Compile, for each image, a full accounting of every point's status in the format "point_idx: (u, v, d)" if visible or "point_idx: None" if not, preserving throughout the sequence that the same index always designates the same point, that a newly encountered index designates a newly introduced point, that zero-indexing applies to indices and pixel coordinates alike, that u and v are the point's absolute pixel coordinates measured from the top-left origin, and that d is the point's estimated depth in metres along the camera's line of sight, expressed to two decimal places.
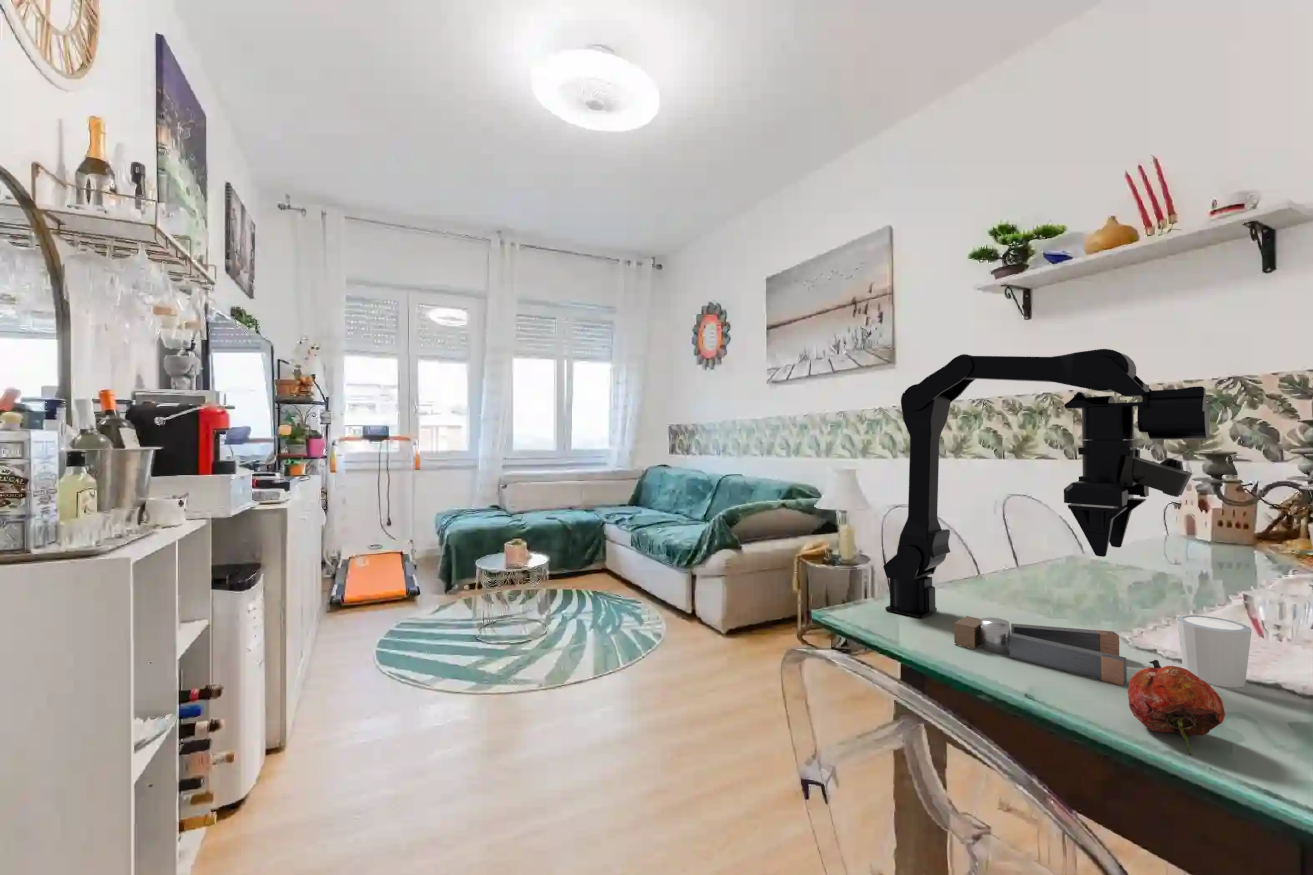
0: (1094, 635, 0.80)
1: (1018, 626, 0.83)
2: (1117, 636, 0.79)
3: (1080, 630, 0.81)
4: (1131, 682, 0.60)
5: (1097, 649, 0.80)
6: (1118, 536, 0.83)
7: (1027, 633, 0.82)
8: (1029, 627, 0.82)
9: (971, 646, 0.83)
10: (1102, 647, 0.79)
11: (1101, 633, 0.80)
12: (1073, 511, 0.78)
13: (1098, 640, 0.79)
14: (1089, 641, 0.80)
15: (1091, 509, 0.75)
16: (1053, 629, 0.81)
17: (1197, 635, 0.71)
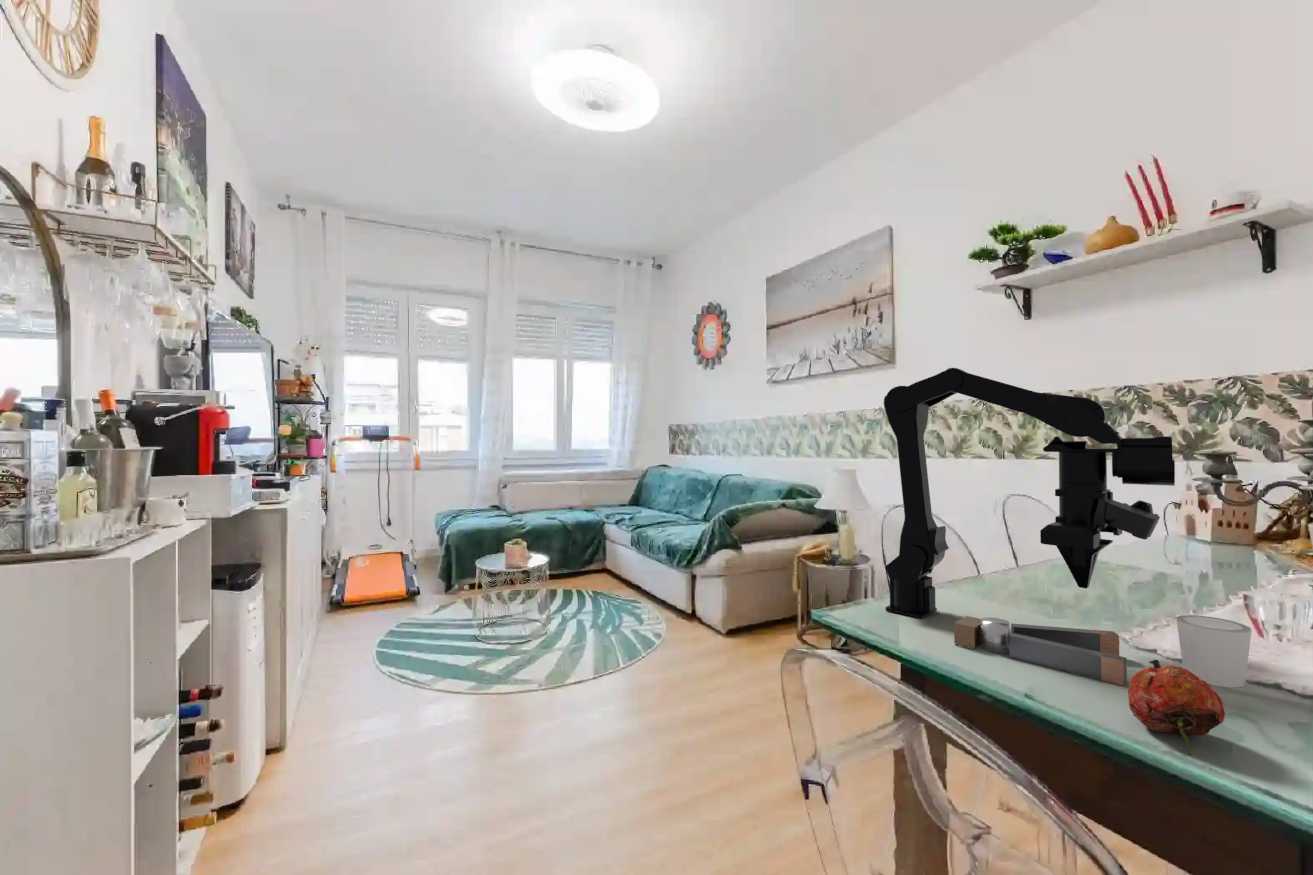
0: (1094, 635, 0.80)
1: (1018, 626, 0.83)
2: (1117, 636, 0.79)
3: (1080, 630, 0.81)
4: (1131, 682, 0.60)
5: (1097, 649, 0.80)
6: None
7: (1027, 633, 0.82)
8: (1029, 627, 0.82)
9: (971, 646, 0.83)
10: (1102, 647, 0.79)
11: (1101, 633, 0.80)
12: (1058, 546, 0.86)
13: (1098, 640, 0.79)
14: (1089, 641, 0.80)
15: None
16: (1053, 629, 0.81)
17: (1197, 635, 0.71)
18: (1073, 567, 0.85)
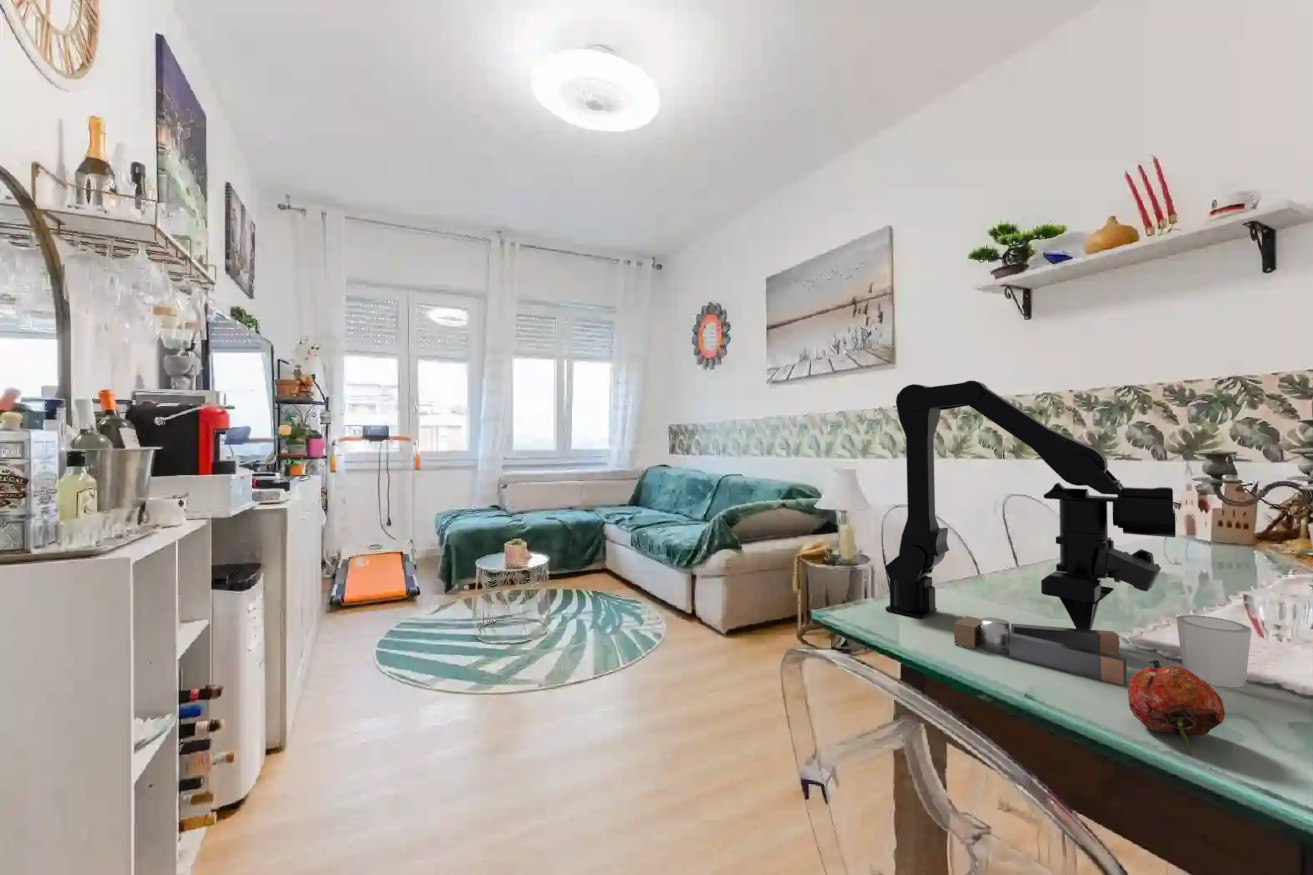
0: (1094, 635, 0.80)
1: (1018, 626, 0.83)
2: (1117, 636, 0.79)
3: (1080, 630, 0.81)
4: (1131, 682, 0.60)
5: (1097, 649, 0.80)
6: None
7: (1027, 633, 0.82)
8: (1029, 627, 0.82)
9: (971, 646, 0.83)
10: (1102, 647, 0.79)
11: (1101, 633, 0.80)
12: None
13: (1098, 640, 0.79)
14: (1089, 641, 0.80)
15: None
16: (1053, 629, 0.81)
17: (1197, 635, 0.71)
18: (1074, 615, 0.85)
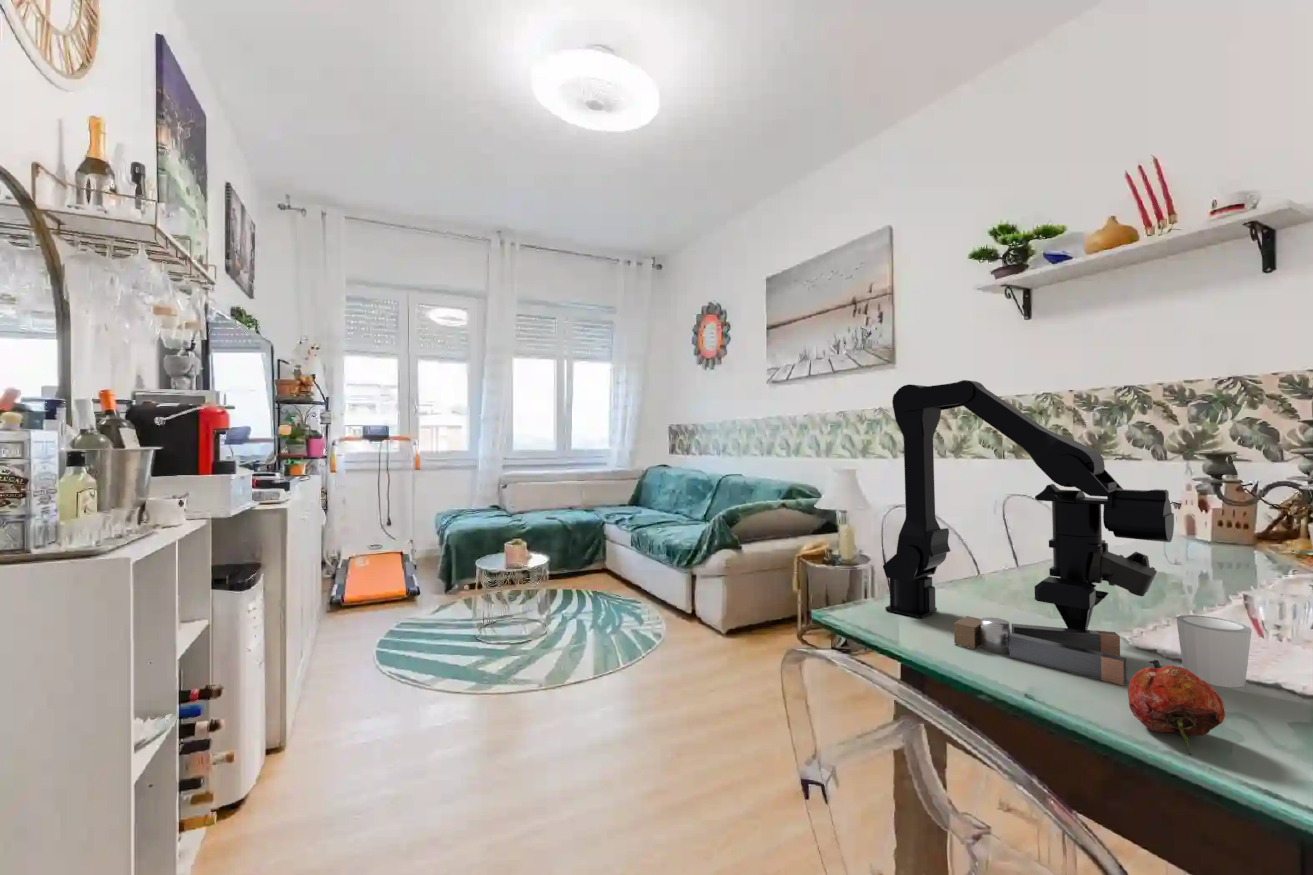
0: (1095, 635, 0.79)
1: (1018, 626, 0.83)
2: (1118, 637, 0.79)
3: (1081, 630, 0.81)
4: (1131, 682, 0.60)
5: (1098, 650, 0.79)
6: None
7: (1027, 633, 0.82)
8: (1029, 627, 0.82)
9: (971, 646, 0.83)
10: (1103, 647, 0.79)
11: (1102, 633, 0.79)
12: None
13: (1099, 641, 0.79)
14: (1090, 641, 0.80)
15: None
16: (1053, 629, 0.81)
17: (1197, 635, 0.71)
18: (1069, 620, 0.83)
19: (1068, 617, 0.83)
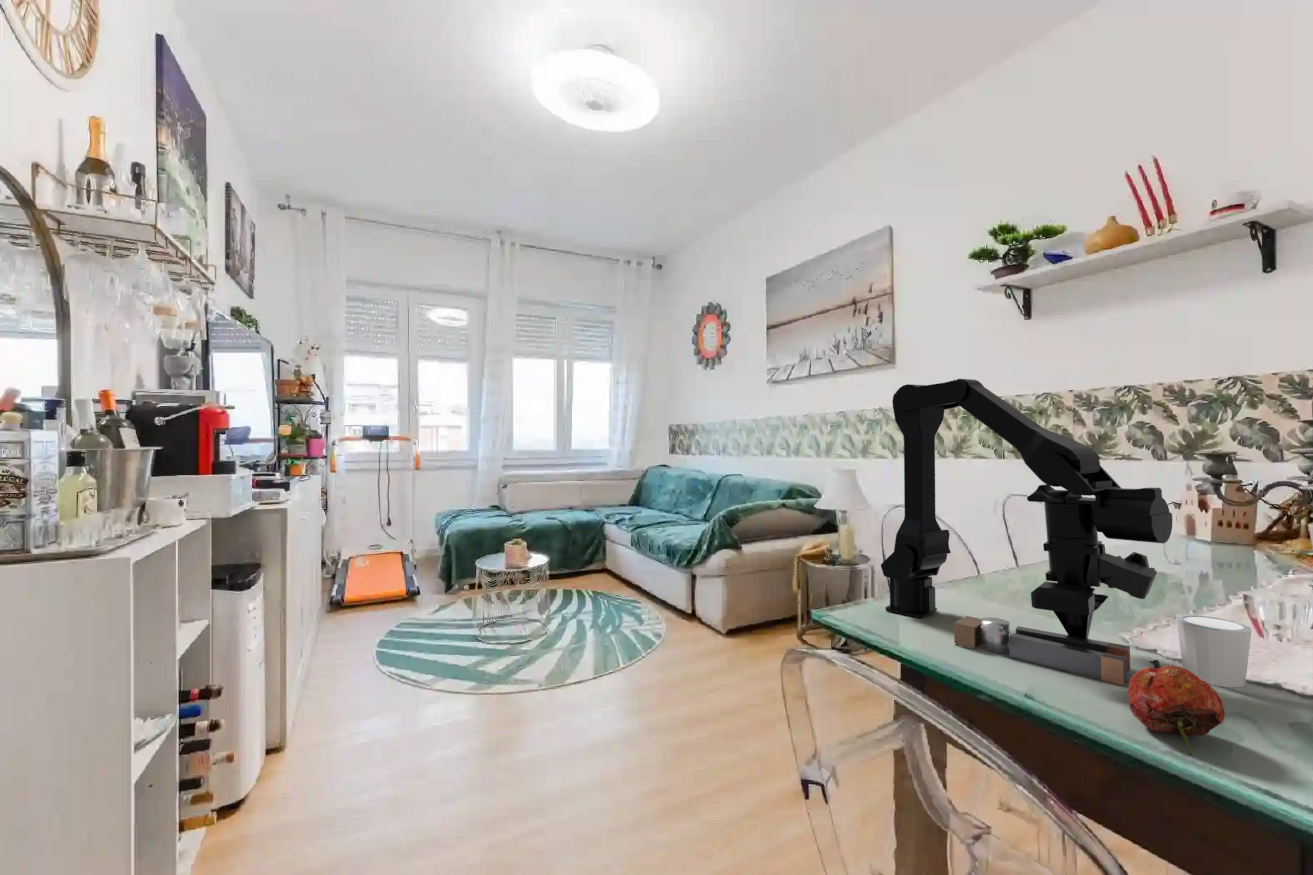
0: (1102, 646, 0.75)
1: (1021, 629, 0.82)
2: (1127, 651, 0.74)
3: (1089, 640, 0.77)
4: (1131, 682, 0.60)
5: None
6: (1082, 637, 0.79)
7: None
8: (1032, 631, 0.81)
9: (971, 646, 0.83)
10: None
11: (1110, 645, 0.75)
12: None
13: (1105, 652, 0.75)
14: None
15: None
16: (1057, 636, 0.79)
17: (1197, 635, 0.71)
18: (1069, 627, 0.79)
19: (1068, 623, 0.79)
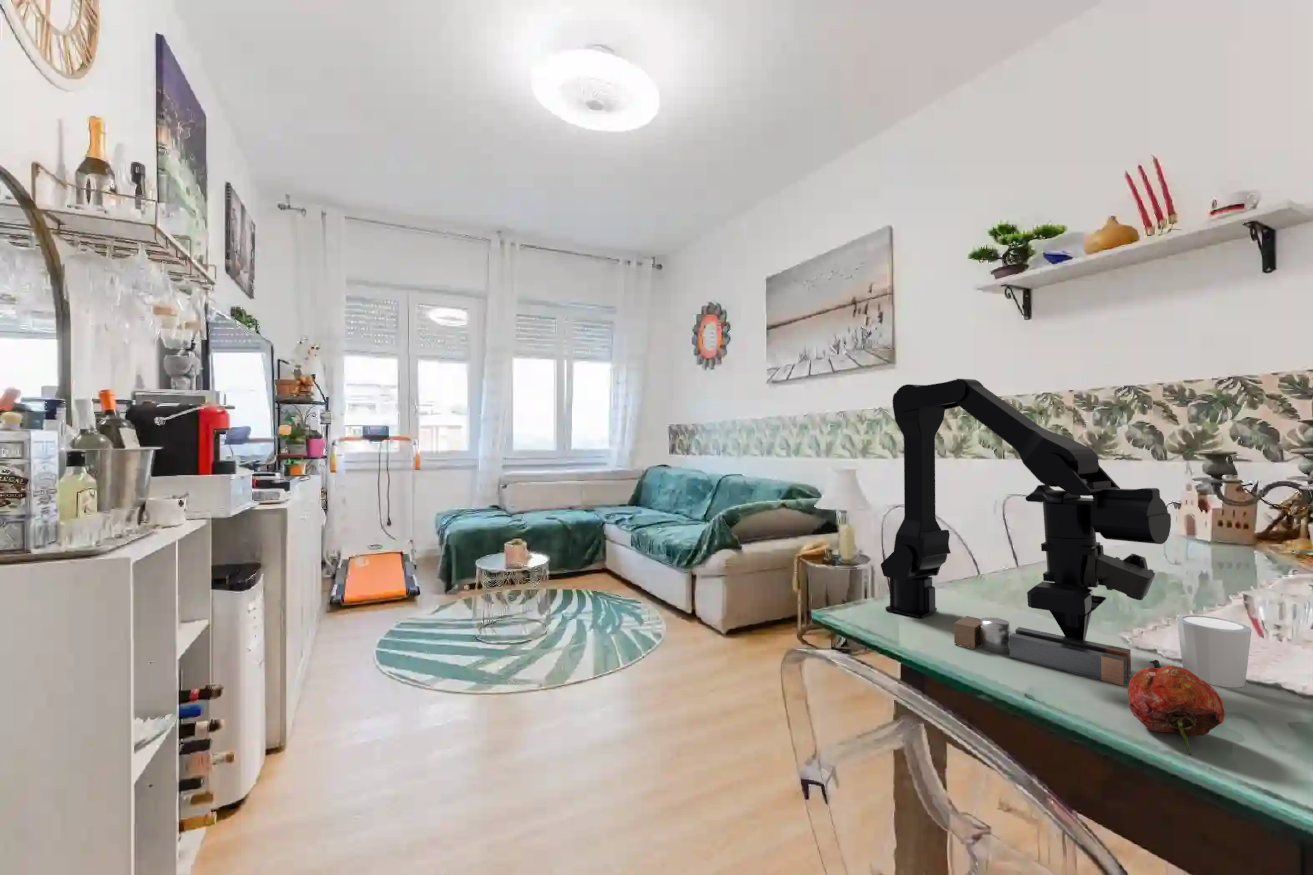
0: (1100, 649, 0.74)
1: (1021, 630, 0.81)
2: (1126, 654, 0.73)
3: (1089, 642, 0.76)
4: (1131, 682, 0.60)
5: None
6: None
7: None
8: (1032, 632, 0.80)
9: (971, 646, 0.83)
10: None
11: (1109, 648, 0.74)
12: None
13: None
14: None
15: None
16: (1057, 637, 0.78)
17: (1197, 635, 0.71)
18: (1065, 628, 0.79)
19: (1065, 624, 0.79)
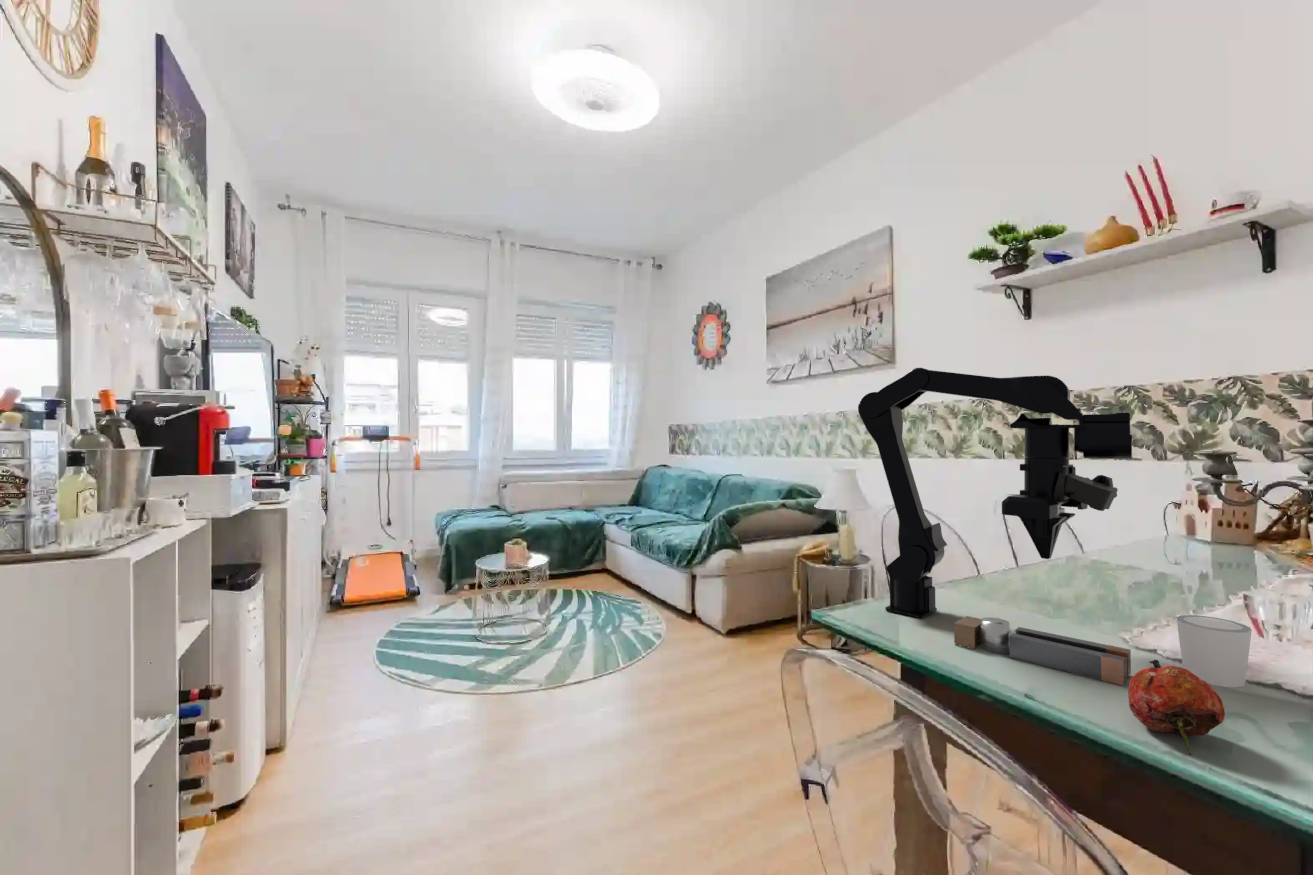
0: (1100, 649, 0.74)
1: (1021, 630, 0.81)
2: (1126, 654, 0.73)
3: (1089, 642, 0.76)
4: (1131, 682, 0.60)
5: None
6: None
7: None
8: (1032, 632, 0.80)
9: (971, 646, 0.83)
10: None
11: (1109, 648, 0.74)
12: (1022, 519, 0.89)
13: None
14: None
15: (1035, 517, 0.87)
16: (1057, 637, 0.78)
17: (1197, 635, 0.71)
18: (1036, 538, 0.89)
19: (1035, 535, 0.89)
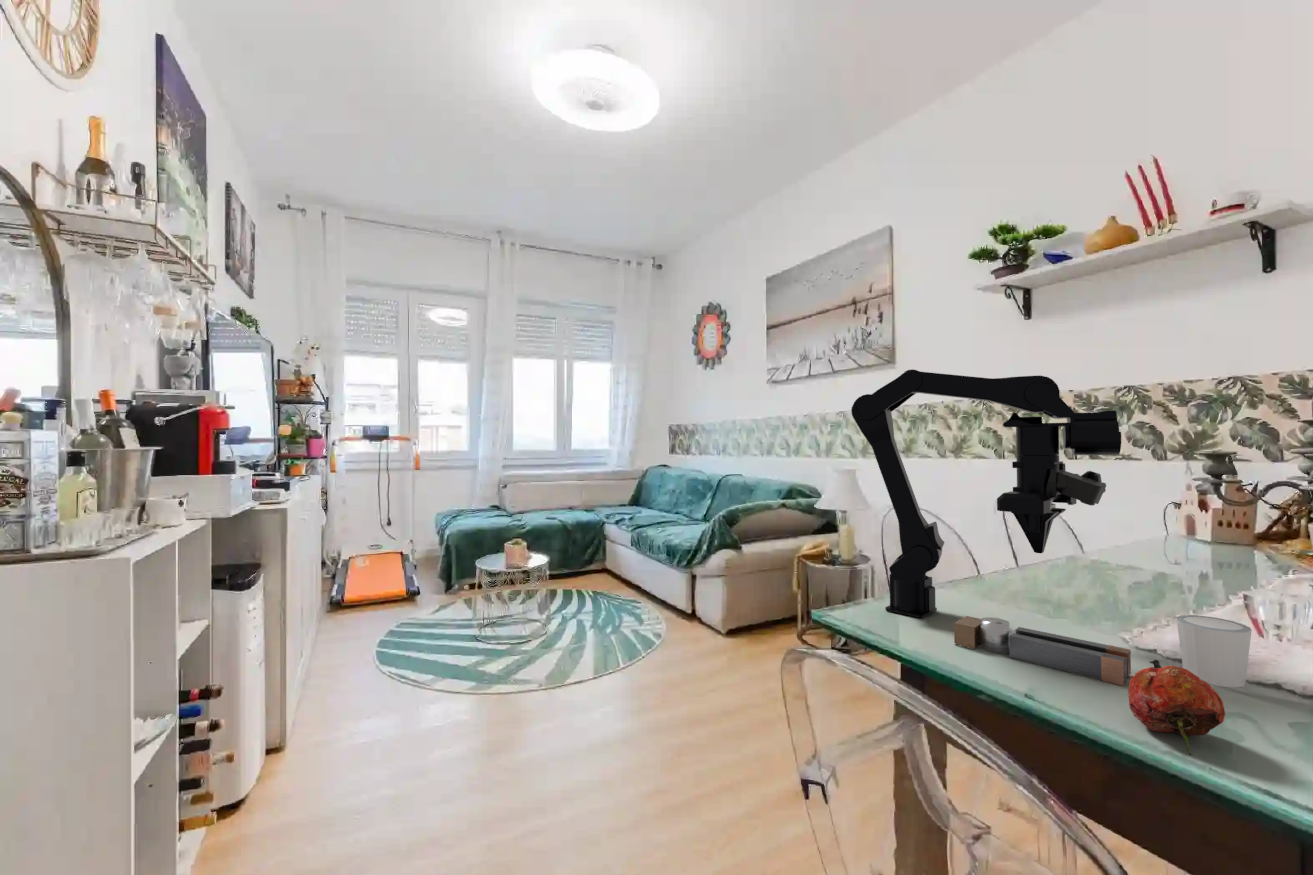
0: (1100, 649, 0.74)
1: (1021, 630, 0.81)
2: (1126, 654, 0.73)
3: (1089, 642, 0.76)
4: (1131, 682, 0.60)
5: None
6: None
7: None
8: (1032, 632, 0.80)
9: (971, 646, 0.83)
10: None
11: (1109, 648, 0.74)
12: (1015, 515, 0.92)
13: None
14: None
15: (1029, 513, 0.90)
16: (1057, 637, 0.78)
17: (1197, 635, 0.71)
18: (1029, 534, 0.92)
19: (1028, 530, 0.92)
